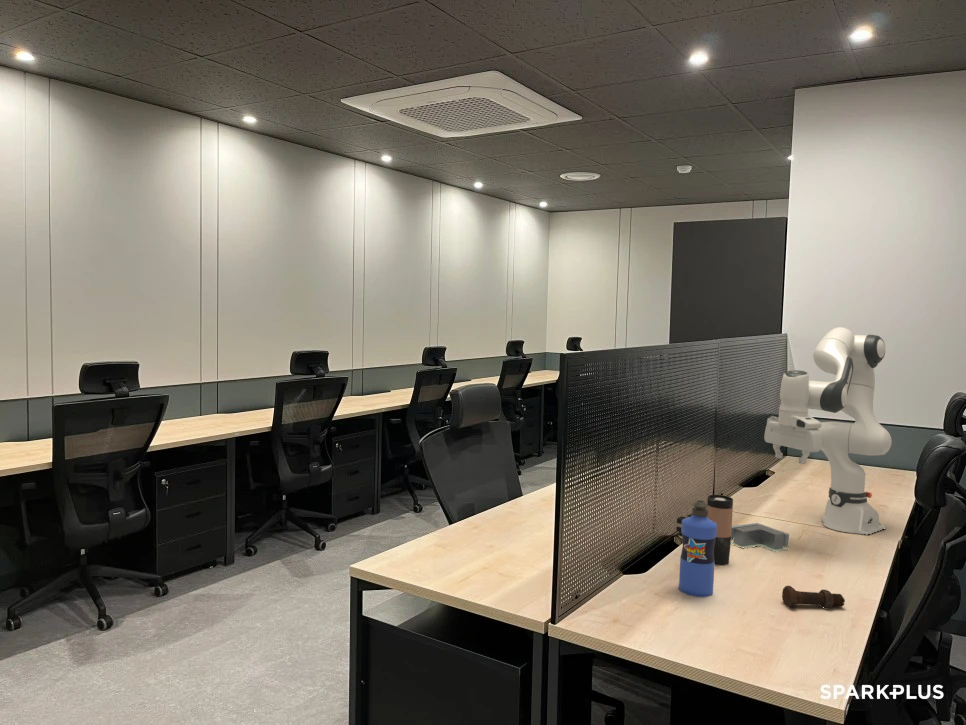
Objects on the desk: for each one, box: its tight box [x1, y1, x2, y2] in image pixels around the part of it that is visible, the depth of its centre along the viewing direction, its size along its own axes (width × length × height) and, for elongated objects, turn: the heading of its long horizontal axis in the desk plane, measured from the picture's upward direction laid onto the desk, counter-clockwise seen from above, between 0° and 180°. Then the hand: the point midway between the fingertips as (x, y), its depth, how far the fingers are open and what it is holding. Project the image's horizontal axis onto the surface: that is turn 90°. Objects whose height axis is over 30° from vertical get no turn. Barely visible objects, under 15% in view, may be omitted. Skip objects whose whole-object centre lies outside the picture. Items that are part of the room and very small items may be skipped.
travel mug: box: [706, 494, 734, 566], centre depth 214 cm, size 8×8×20 cm
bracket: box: [732, 524, 785, 550], centre depth 230 cm, size 10×12×5 cm
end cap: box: [675, 513, 693, 538], centre depth 240 cm, size 10×7×7 cm
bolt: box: [781, 585, 846, 609], centre depth 182 cm, size 6×5×15 cm
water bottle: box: [678, 500, 717, 598], centre depth 189 cm, size 9×9×25 cm
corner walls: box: [731, 522, 790, 547], centre depth 234 cm, size 18×14×4 cm
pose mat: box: [731, 541, 789, 553], centre depth 230 cm, size 14×12×1 cm
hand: (790, 460), depth 229 cm, fingers open, 8 cm apart
